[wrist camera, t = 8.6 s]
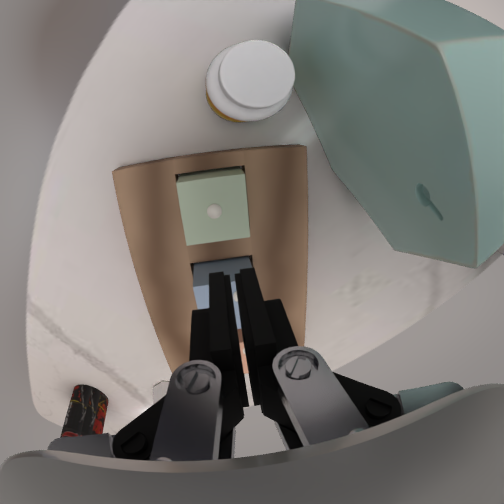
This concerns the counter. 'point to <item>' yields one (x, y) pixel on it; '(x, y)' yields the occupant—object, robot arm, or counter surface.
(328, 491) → the robot arm
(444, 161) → the mint hexagonal clock
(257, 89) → the supplement bottle
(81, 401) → the deodorant
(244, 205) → the tile one
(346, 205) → the counter surface
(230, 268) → the tile two
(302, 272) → the board
